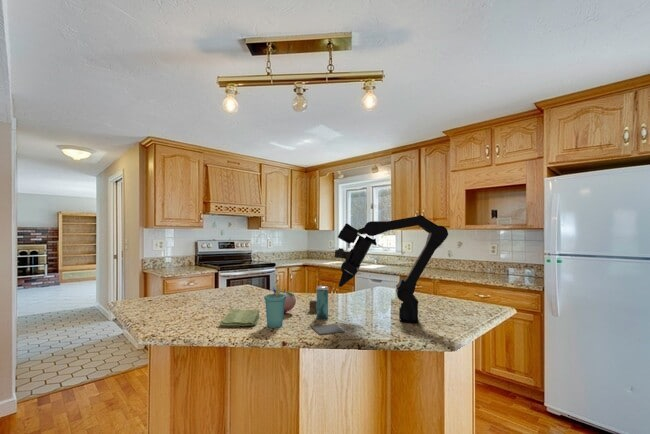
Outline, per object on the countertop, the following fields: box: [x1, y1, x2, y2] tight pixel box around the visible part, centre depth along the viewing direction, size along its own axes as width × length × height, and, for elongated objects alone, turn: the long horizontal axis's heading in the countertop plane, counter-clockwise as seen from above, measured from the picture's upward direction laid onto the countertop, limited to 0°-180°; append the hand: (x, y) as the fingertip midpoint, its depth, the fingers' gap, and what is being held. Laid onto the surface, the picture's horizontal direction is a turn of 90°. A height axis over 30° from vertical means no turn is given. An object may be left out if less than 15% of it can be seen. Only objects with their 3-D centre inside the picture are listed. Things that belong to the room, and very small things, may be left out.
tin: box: [315, 285, 329, 320], centre depth 128 cm, size 5×5×12 cm
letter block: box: [309, 298, 317, 313], centre depth 139 cm, size 4×4×5 cm
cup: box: [263, 283, 286, 329], centre depth 116 cm, size 14×8×15 cm, turn 7°
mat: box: [311, 323, 345, 336], centre depth 112 cm, size 9×9×1 cm
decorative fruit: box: [280, 288, 297, 314], centre depth 134 cm, size 9×8×10 cm
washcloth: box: [219, 308, 260, 328], centre depth 123 cm, size 13×18×3 cm
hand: (341, 284), depth 129 cm, fingers open, 9 cm apart
